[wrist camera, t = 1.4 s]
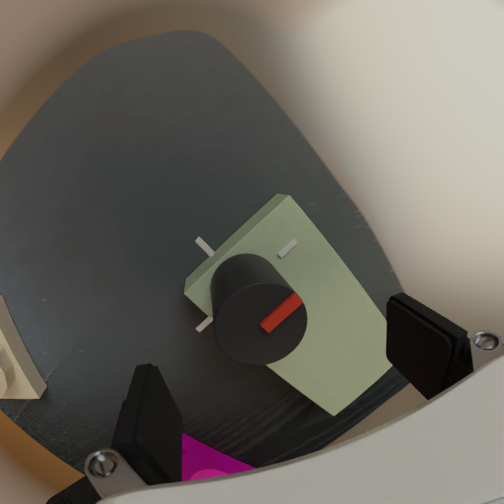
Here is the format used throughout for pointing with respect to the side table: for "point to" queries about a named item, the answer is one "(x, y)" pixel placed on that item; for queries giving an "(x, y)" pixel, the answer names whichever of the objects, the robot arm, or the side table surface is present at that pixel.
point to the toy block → (206, 461)
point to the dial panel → (308, 304)
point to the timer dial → (255, 311)
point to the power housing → (16, 363)
